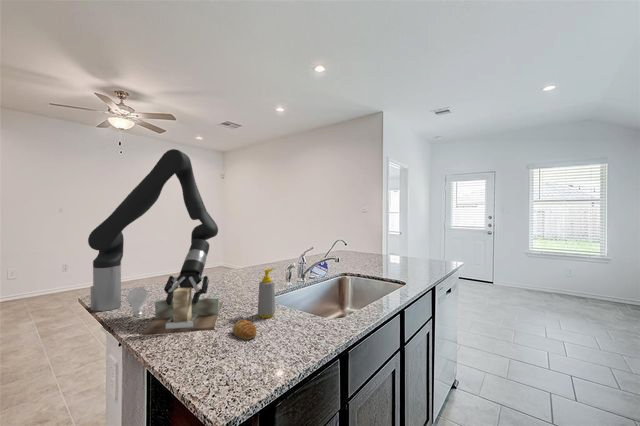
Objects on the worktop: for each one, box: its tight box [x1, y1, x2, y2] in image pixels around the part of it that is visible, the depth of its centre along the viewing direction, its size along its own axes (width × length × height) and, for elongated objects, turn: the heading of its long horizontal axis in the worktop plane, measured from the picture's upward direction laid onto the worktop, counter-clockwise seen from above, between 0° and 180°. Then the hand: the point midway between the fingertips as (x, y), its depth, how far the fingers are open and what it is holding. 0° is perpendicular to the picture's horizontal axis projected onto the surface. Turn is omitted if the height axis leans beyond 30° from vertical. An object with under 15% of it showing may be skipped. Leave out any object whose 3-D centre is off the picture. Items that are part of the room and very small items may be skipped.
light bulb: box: [126, 287, 149, 316], centre depth 109 cm, size 7×7×11 cm
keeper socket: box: [166, 313, 198, 330], centre depth 100 cm, size 8×8×2 cm
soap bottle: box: [257, 267, 276, 319], centre depth 111 cm, size 7×7×18 cm
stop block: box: [173, 287, 192, 322], centre depth 100 cm, size 4×4×12 cm
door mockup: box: [141, 296, 224, 336], centre depth 108 cm, size 22×26×7 cm
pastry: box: [232, 319, 258, 341], centre depth 94 cm, size 9×7×4 cm
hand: (181, 303), depth 99 cm, fingers open, 8 cm apart
